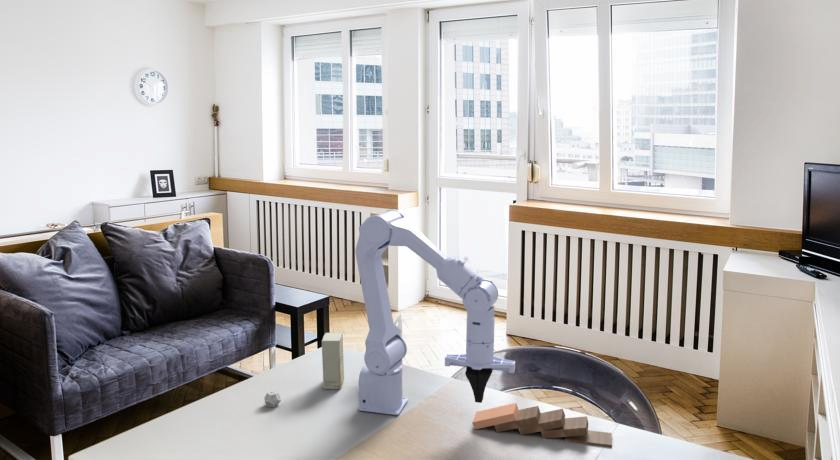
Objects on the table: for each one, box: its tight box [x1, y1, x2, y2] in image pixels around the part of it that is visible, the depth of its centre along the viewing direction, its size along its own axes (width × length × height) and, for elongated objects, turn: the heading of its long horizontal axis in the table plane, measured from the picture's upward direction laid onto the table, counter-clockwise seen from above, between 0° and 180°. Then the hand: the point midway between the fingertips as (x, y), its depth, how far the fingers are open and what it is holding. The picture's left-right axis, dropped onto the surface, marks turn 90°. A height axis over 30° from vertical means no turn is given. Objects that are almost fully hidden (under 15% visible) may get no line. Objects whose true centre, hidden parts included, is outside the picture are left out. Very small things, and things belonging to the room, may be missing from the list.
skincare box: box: [321, 332, 345, 390], centre depth 160 cm, size 6×4×12 cm
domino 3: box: [540, 415, 589, 439], centre depth 136 cm, size 2×5×9 cm
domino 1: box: [493, 405, 541, 433], centre depth 139 cm, size 2×5×9 cm
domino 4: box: [564, 429, 613, 448], centre depth 136 cm, size 2×5×9 cm
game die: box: [263, 390, 282, 408], centre depth 150 cm, size 4×4×3 cm
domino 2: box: [518, 408, 566, 436], centre depth 138 cm, size 2×5×9 cm
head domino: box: [472, 402, 519, 430], centre depth 140 cm, size 2×5×9 cm
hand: (479, 400), depth 140 cm, fingers closed
